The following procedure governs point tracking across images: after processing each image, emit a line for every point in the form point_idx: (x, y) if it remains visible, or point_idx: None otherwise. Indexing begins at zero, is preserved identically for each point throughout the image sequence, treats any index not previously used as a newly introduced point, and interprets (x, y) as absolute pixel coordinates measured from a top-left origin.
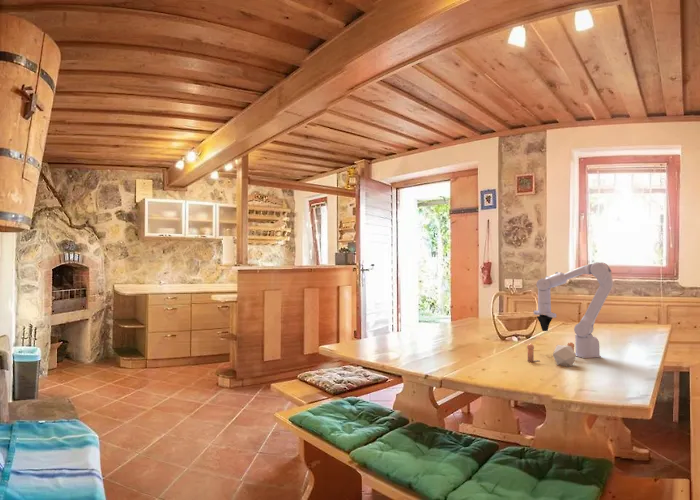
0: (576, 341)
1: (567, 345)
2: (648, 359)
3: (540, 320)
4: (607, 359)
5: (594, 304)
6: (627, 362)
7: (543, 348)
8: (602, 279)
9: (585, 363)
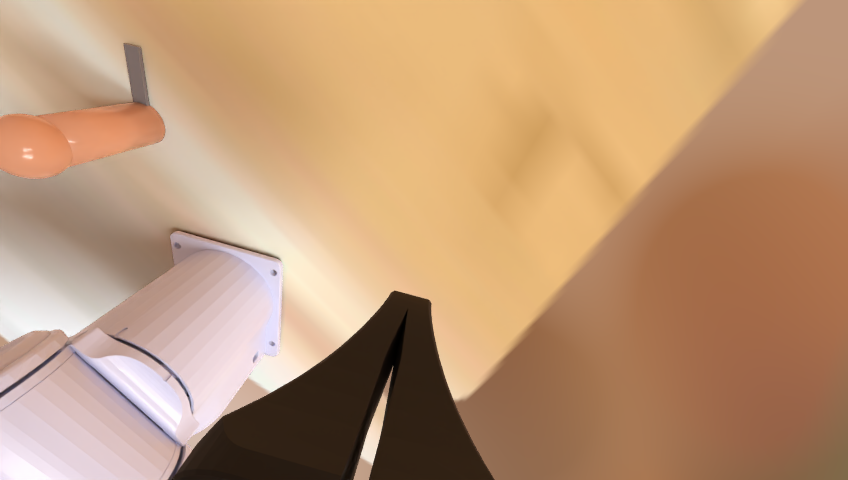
0: (162, 313)
1: (30, 119)
2: None
3: (392, 414)
4: None
5: None
6: (80, 323)
7: (524, 289)
8: None
9: (30, 104)
